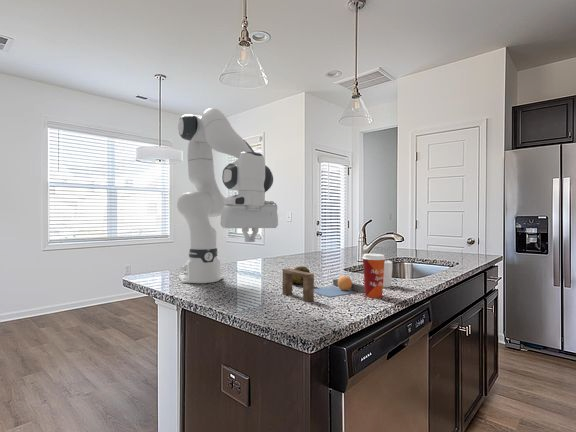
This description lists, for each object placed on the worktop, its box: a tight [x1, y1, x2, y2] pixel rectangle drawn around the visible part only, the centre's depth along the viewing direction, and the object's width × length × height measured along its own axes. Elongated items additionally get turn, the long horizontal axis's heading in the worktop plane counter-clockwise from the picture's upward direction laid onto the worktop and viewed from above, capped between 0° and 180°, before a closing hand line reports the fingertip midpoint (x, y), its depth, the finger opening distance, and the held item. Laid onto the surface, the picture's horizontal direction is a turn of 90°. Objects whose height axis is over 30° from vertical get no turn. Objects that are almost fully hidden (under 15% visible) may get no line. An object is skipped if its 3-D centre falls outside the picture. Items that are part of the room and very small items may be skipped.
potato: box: [292, 266, 311, 285], centre depth 144 cm, size 8×13×8 cm, turn 13°
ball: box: [337, 275, 352, 291], centre depth 133 cm, size 6×6×6 cm
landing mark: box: [314, 285, 357, 298], centre depth 131 cm, size 13×13×1 cm
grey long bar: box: [332, 278, 365, 294], centre depth 136 cm, size 18×2×2 cm, turn 35°
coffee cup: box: [362, 253, 386, 299], centre depth 124 cm, size 8×8×15 cm
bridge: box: [282, 268, 315, 303], centre depth 122 cm, size 3×14×9 cm, turn 35°
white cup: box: [383, 260, 394, 288], centre depth 142 cm, size 8×8×10 cm
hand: (249, 241), depth 114 cm, fingers closed
